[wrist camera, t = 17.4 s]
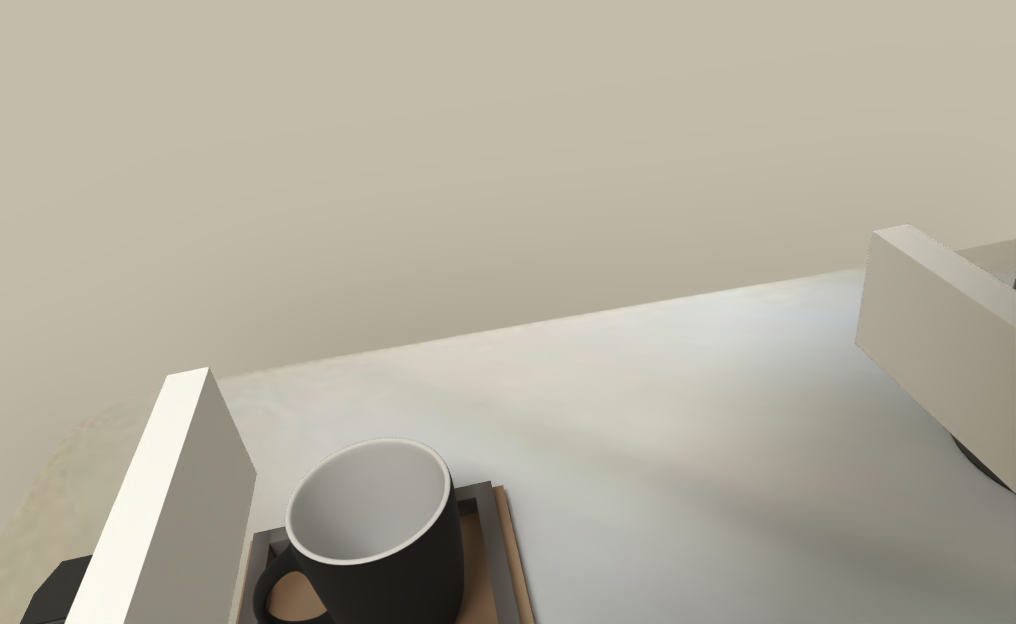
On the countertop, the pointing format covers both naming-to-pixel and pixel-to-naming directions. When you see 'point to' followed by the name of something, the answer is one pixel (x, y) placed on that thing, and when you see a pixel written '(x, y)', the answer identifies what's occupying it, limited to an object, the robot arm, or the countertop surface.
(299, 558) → the mug
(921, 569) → the countertop surface
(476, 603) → the wooden tray
